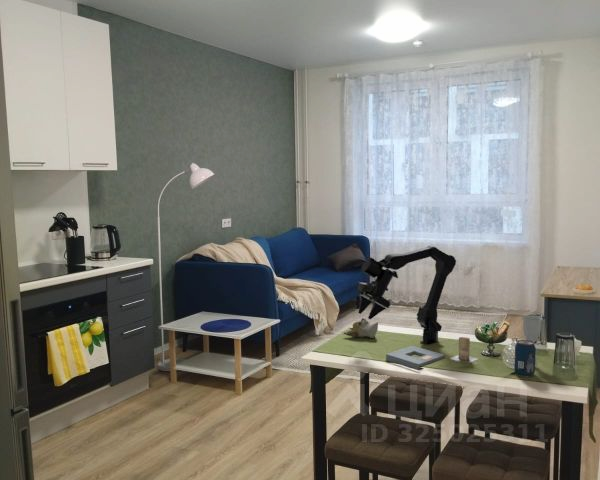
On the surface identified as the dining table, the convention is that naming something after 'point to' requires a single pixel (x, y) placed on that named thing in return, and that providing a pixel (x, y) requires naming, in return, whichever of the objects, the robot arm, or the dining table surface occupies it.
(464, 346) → the peg
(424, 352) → the hole plate
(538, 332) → the chalice
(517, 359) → the soda can
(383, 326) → the dining table surface
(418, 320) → the robot arm
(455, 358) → the plate
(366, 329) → the ceramic sculpture
